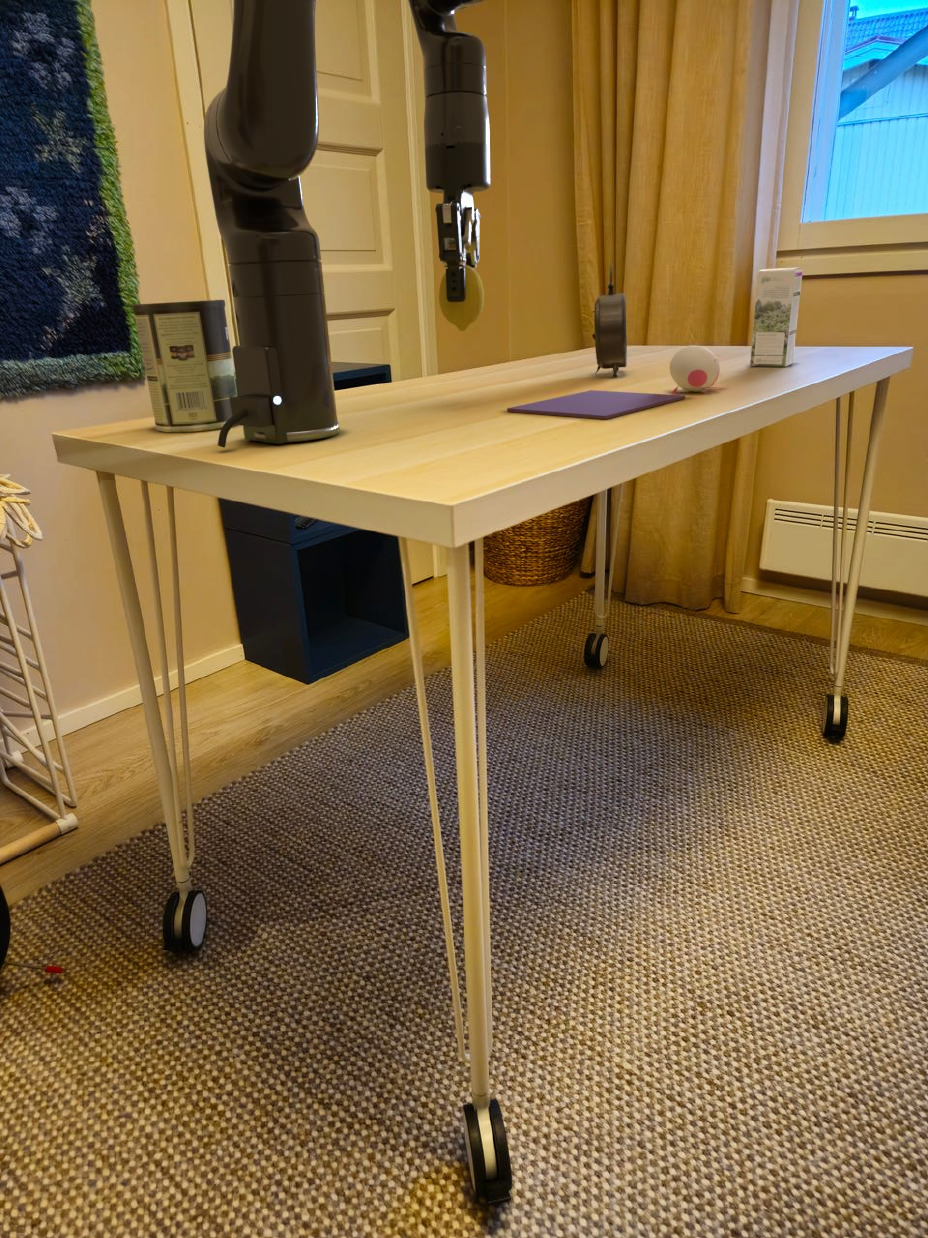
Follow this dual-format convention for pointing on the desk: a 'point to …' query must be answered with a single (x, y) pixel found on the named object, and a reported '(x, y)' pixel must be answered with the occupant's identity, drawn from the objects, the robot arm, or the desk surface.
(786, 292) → the syrup box
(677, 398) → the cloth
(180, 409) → the coffee can
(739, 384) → the desk surface
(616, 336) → the alarm clock
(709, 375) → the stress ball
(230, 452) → the desk surface
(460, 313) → the lemon
